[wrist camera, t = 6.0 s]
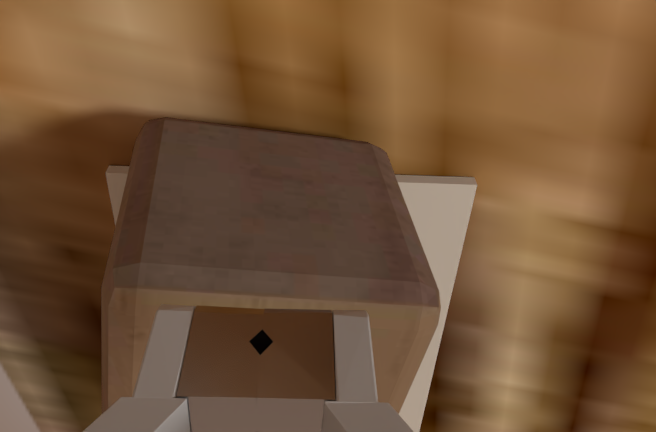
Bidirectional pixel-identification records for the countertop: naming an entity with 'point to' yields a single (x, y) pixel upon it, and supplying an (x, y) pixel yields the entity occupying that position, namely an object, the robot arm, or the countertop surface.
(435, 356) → the mat
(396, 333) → the wooden block
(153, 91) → the countertop surface
